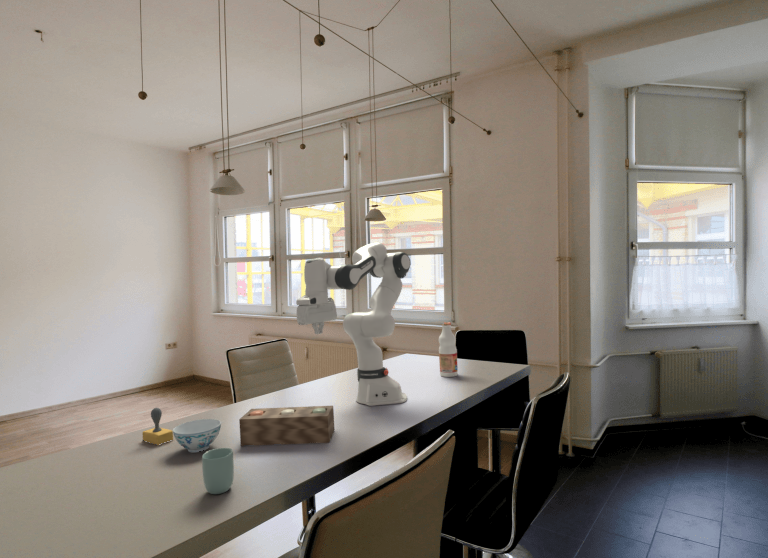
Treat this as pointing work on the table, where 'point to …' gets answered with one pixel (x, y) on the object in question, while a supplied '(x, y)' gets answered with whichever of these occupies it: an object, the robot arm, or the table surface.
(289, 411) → the cream button
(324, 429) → the console
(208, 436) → the chinaware
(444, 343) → the fruit juice
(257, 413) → the terracotta button
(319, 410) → the sage button
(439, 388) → the table surface
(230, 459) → the cup
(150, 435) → the rubber stamp
